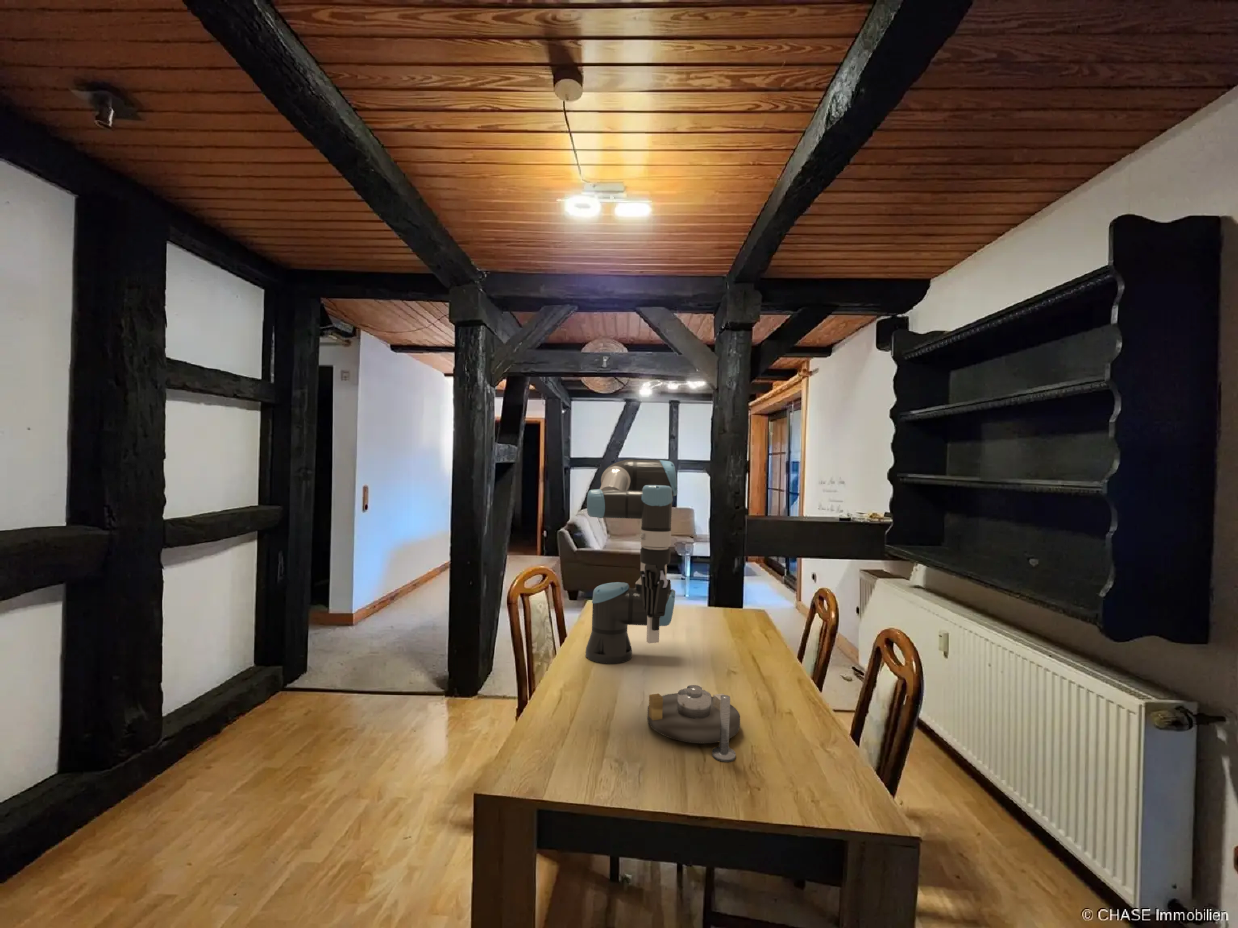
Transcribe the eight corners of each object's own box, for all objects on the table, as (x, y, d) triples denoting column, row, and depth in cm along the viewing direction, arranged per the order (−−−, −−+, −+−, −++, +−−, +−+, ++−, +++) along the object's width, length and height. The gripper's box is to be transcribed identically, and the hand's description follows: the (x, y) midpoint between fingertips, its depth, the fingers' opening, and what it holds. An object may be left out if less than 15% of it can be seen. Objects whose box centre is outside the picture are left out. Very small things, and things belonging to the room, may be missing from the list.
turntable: (632, 706, 140) (633, 678, 140) (710, 696, 148) (710, 669, 147) (671, 749, 119) (672, 717, 119) (758, 734, 127) (759, 704, 127)
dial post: (706, 750, 122) (708, 692, 122) (726, 747, 124) (728, 689, 124) (719, 763, 117) (721, 702, 117) (739, 759, 119) (741, 699, 119)
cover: (671, 706, 136) (671, 683, 136) (699, 701, 139) (699, 679, 139) (688, 720, 128) (688, 696, 128) (717, 715, 132) (717, 691, 132)
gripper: (631, 543, 143) (628, 635, 143) (653, 551, 131) (650, 651, 131) (657, 543, 146) (655, 632, 145) (681, 550, 133) (678, 648, 133)
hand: (652, 641), depth 138 cm, fingers closed
